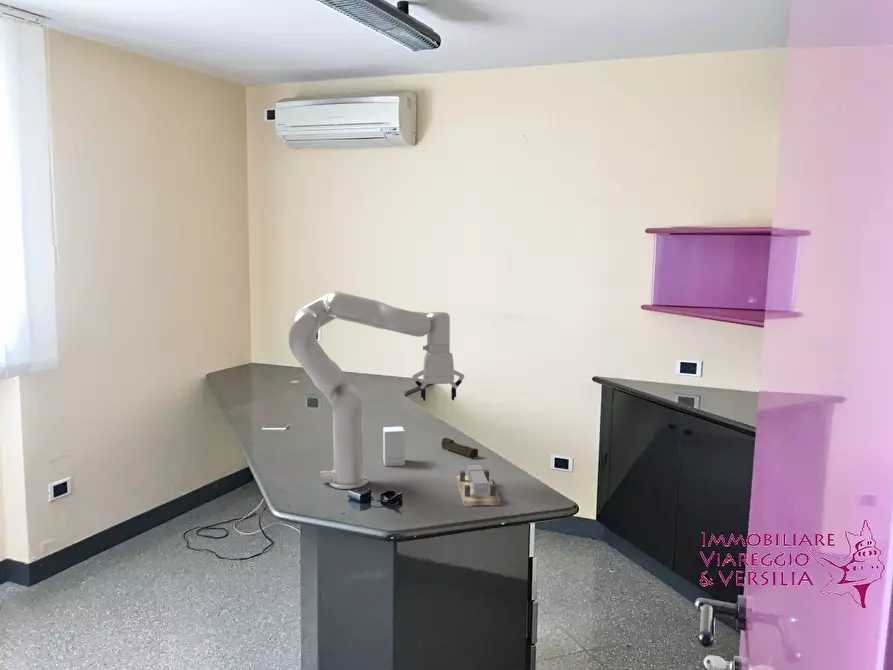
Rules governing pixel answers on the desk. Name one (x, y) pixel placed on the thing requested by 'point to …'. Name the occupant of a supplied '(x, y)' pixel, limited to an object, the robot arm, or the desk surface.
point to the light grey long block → (477, 481)
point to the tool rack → (468, 495)
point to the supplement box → (393, 446)
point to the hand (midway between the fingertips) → (438, 399)
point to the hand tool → (459, 448)
